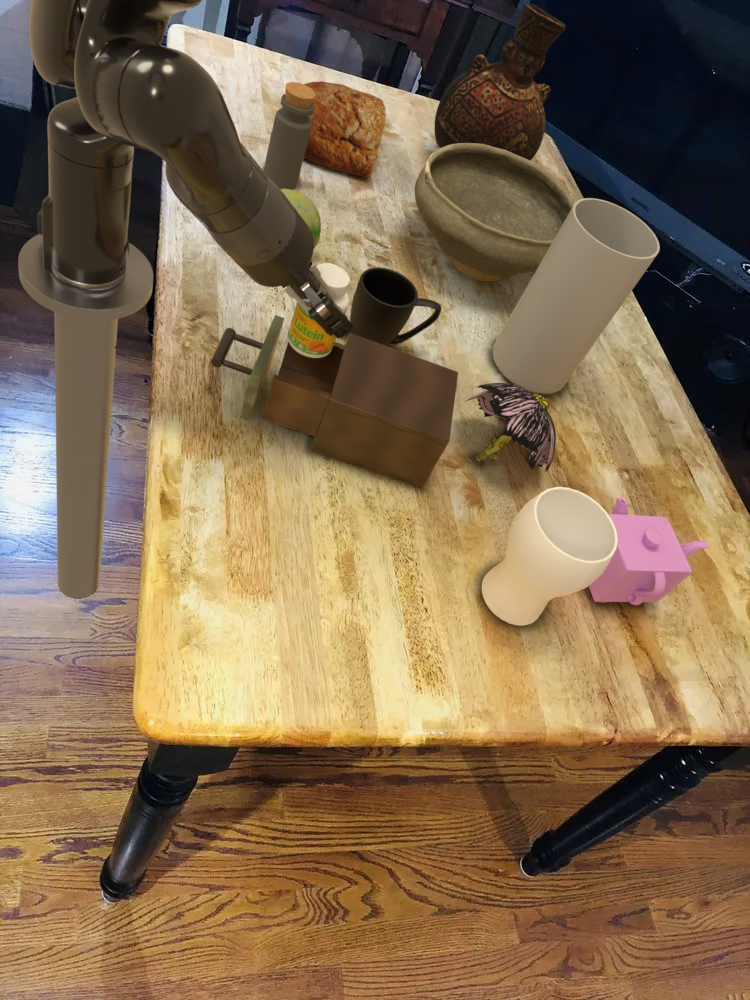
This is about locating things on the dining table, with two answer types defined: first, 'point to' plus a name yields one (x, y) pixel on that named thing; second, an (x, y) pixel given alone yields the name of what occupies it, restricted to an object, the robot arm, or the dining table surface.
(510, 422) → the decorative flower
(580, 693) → the dining table surface
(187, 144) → the robot arm
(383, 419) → the cabinet
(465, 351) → the dining table surface
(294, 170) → the bottle
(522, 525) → the cup
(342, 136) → the bread
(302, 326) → the supplement bottle
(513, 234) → the bowl
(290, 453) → the dining table surface
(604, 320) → the cylinder vase
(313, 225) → the decorative ball
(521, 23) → the ceramic vessel
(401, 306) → the mug
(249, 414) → the drawer
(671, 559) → the teapot
